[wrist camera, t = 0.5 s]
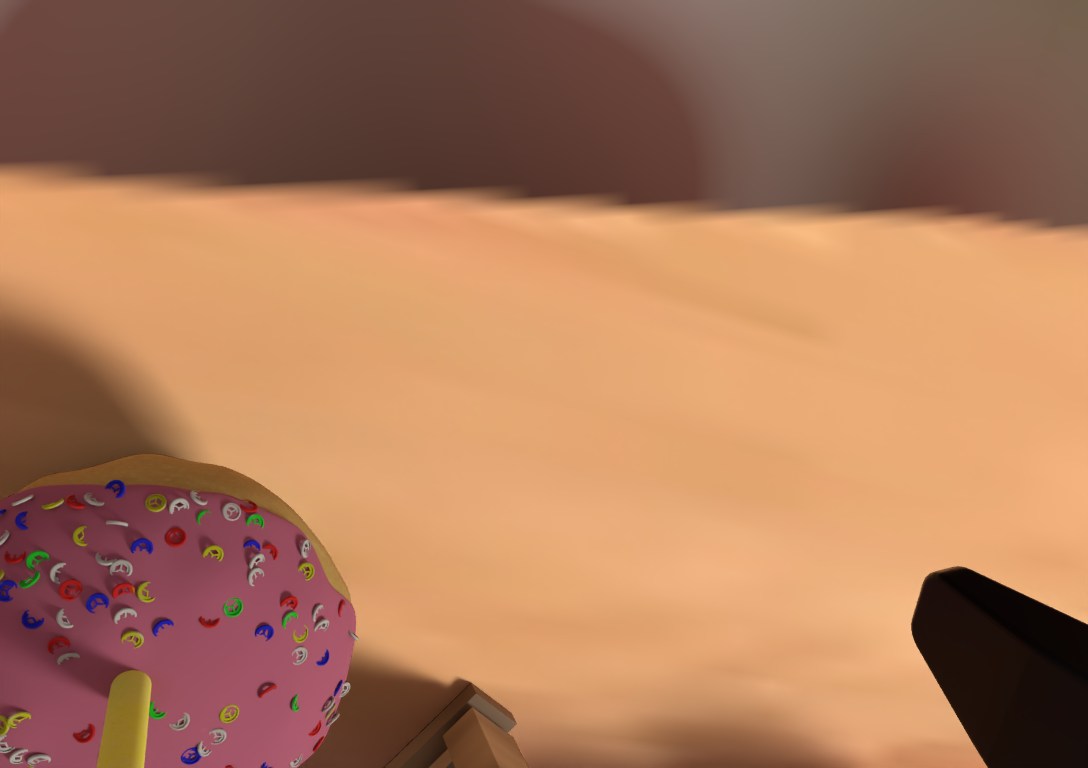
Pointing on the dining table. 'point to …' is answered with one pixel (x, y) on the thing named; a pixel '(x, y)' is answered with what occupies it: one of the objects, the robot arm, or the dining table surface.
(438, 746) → the rail
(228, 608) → the cupcake
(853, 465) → the dining table surface
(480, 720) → the menu board
